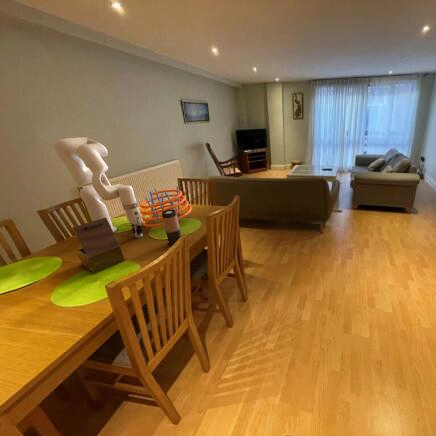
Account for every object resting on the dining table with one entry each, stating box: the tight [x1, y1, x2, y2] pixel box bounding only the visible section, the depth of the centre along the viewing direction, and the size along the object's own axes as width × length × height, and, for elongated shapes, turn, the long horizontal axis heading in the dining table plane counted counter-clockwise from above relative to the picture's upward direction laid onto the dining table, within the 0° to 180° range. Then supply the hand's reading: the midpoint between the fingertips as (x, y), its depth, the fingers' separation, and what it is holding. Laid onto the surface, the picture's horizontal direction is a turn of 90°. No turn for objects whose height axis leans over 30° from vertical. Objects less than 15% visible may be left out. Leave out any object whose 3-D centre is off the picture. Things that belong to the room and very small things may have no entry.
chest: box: [75, 245, 125, 274], centre depth 124 cm, size 15×14×9 cm
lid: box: [72, 218, 120, 257], centre depth 115 cm, size 15×14×5 cm
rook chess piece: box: [134, 224, 144, 239], centre depth 152 cm, size 4×4×8 cm
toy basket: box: [139, 185, 193, 228], centre depth 173 cm, size 34×35×24 cm
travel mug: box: [161, 209, 182, 246], centre depth 141 cm, size 8×8×20 cm
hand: (138, 232), depth 152 cm, fingers open, 3 cm apart
